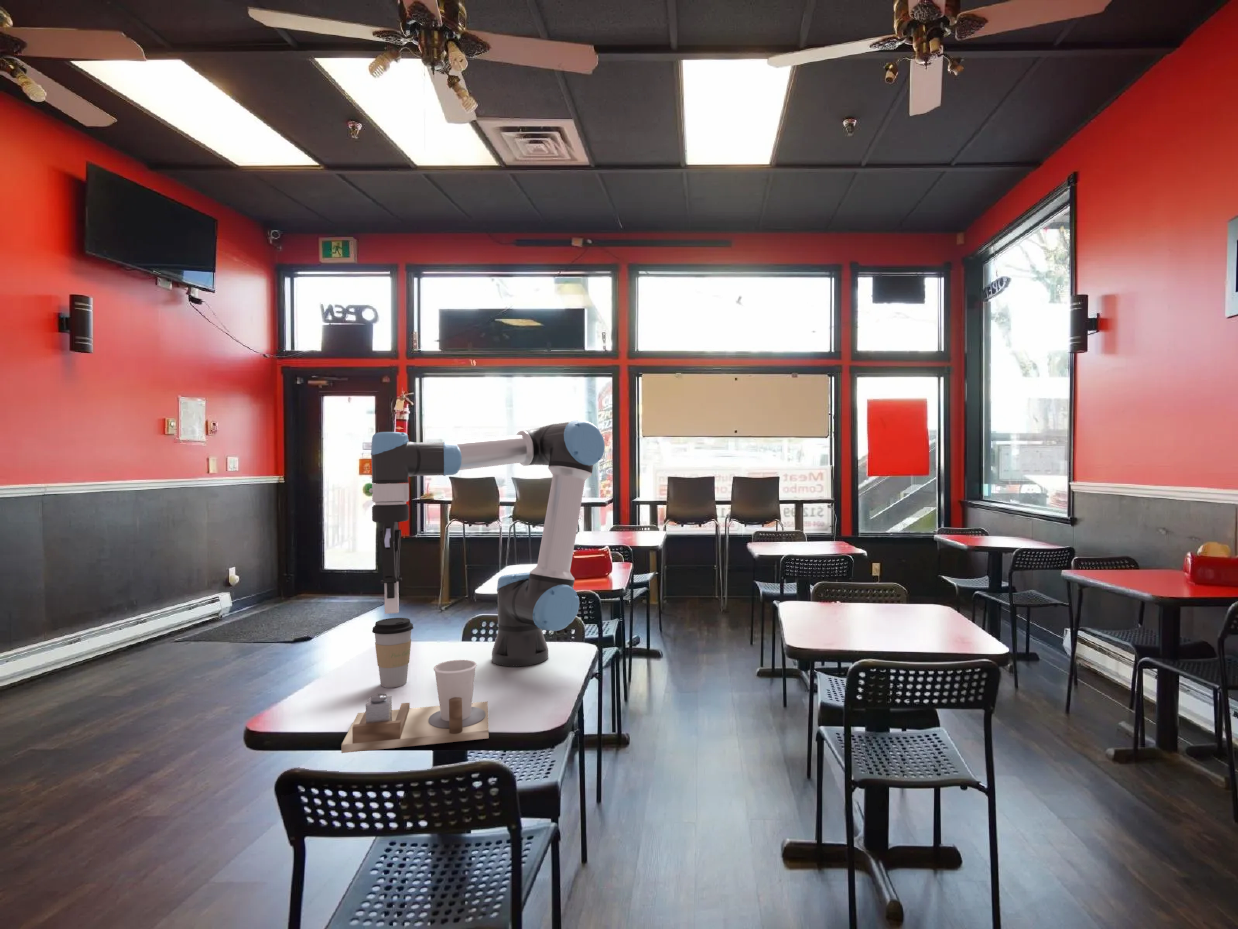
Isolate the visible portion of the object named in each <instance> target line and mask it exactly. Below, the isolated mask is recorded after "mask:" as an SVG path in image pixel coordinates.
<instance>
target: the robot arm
mask: <svg viewBox="0 0 1238 929" xmlns="http://www.w3.org/2000/svg"><path fill="white" fill-rule="evenodd" d="M371 438H372V439H371V446H370V448H371V450H370V456H371V458H370V460H371V483H372V484H371V487H372V488H369V490H368V492H369V493H370V494H371V493H372V494H371V498H372V500H371V501H372V502H373V503H374V504H373V505H372V506H371V520H372V522H373V523H378V524H379V523H383V526H382V530H380V532H379V538H380V547H381V565H382V580H380V584H381V585H382V584H384V587H383V588H384V591H383V592H384V615H387V614H399V612H400V606H399V604H400V603H399V600H400V598H399V596H400V595H399V590H400V588H399V582H402V581H403V578H402V577H400V576H401V573H400V556H401V555H400V550H401V538H402V529H399V523H401V522H403V523H404V522H407V521H409V519H410V506H409V504H408V503H407V502H409V501H410V484H409V482H410V481H409V477H410V478H411V477H422V476H424V477H425V476H428V477H429V476H430V477H433V476H443V477H446V476H454V475H456V474H458V473H459V471H464V470H472V469H481V468H487V467H496V466H504V465H512V464H513V465H514V464H520V465H521V466H523V467H524V466H525V467H526V466H548V467H547V468H548V470H549V471H550V472H551V474H552V478H551V483H550V491H549V495H548V500H547V508H546V512H545V518H544V523H543V528H542V529H543V531H542V536H541V542H540V546H539V554H538V559H537V565H536V567H534V568H533V569H532V570H530V571H529V572H519V573H513V574H504V575H501V576H500V577H498V580H497V586H496V592H497V634H496V637H495V641H494V644H493V647H492V650H491V661H492V663H493V664H496V665H498V666H502V667H503V666H504V667H525V666H532V665H533V666H534V665H537V664H541V663H544V662H545V661H547V660H548V659H549V648H548V645H547V641H546V638H545V635H544V632H543V631H551V632H557V631H561V630H563V629H566V628H567V627H568V626H569V625H570V624H572V623H573V622H574V620H575V618H576V617H577V615H578V612H579V609H580V598H579V596H578V594H577V590H575V589H574V585H575V577H574V576H573V574H572V572H571V567H572V561H573V555H574V549H575V544H576V538H577V537H576V536H577V531H578V524H579V518H580V513H581V507H582V501H583V495H584V487H585V483H586V482H585V481H587V480H588V478H590V477H592V475H593V469H594V465H596V464H597V463H599V461H600V460H602V459H603V457H604V453H605V448H606V446H605V439H604V436H603V434H602V432H601V431H600V429H599V428H598V426H596V425H595V424H594V423H592V422H590V421H587V420H572V421H568V422H560V423H553V424H548V425H544V426H541V427H537V428H532V429H528V430H526V429H525V430H520V431H518V432H517V434H514V435H505V436H504V435H502V436H493V437H483V438H472V439H462V440H451V441H443V442H442V441H441V442H437V441H436V442H433V441H432V442H429V441H427V442H424V441H423V442H414V441H410V439H409V435H408V433H406V432H399V431H380V432H379V431H378V432H375V433H374V434H373V435H372V437H371Z"/></svg>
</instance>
